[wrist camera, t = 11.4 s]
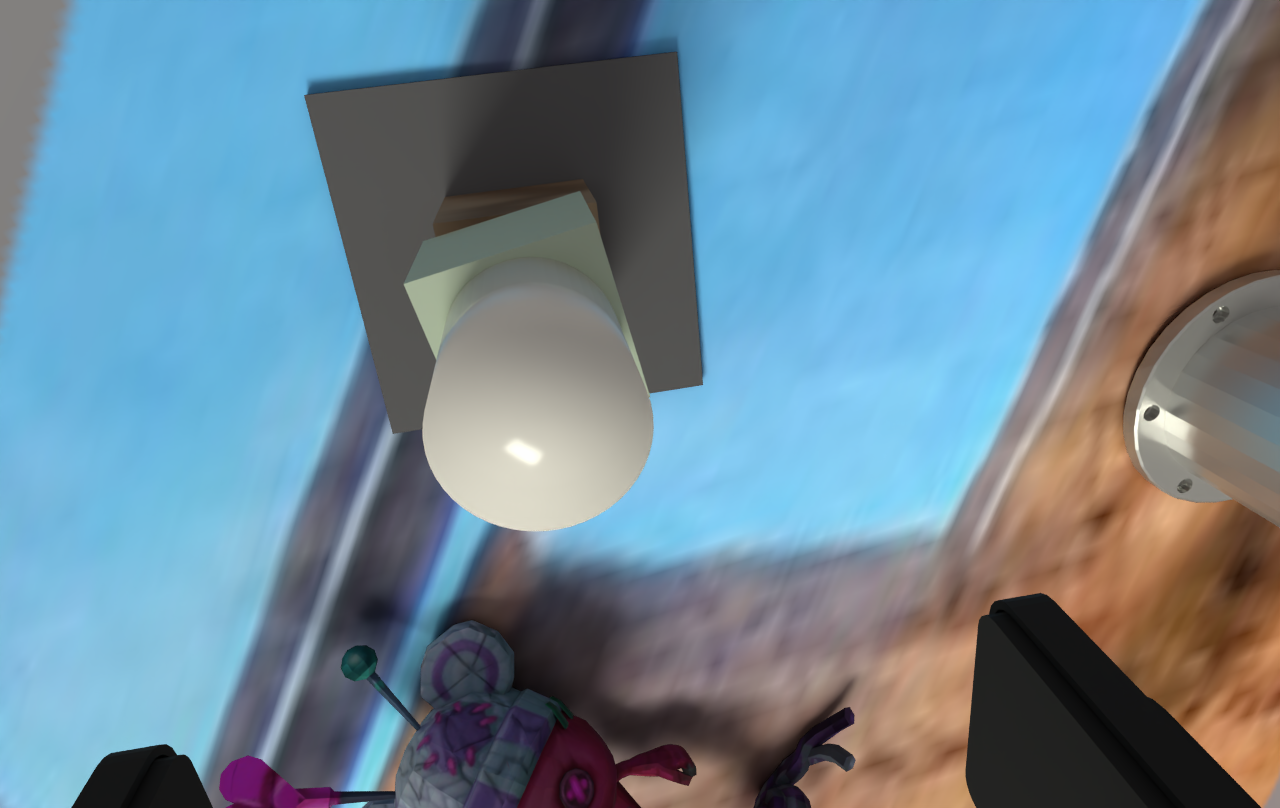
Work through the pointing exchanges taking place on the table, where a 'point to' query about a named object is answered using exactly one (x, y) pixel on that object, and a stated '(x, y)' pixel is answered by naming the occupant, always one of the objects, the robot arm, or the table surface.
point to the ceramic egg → (535, 399)
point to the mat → (510, 158)
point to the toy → (507, 745)
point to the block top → (525, 233)
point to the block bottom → (503, 204)
